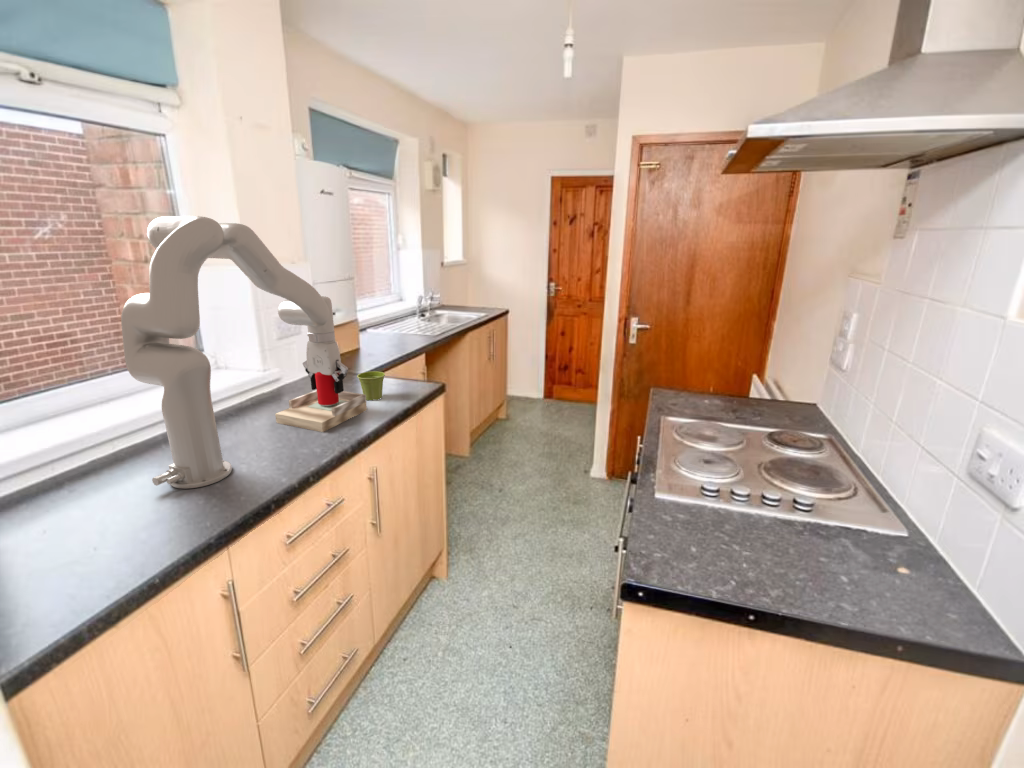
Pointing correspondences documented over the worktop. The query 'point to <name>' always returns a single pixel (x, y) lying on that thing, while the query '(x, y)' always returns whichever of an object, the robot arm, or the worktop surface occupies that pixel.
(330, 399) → the beverage can
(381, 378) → the plant pot
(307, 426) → the dock
